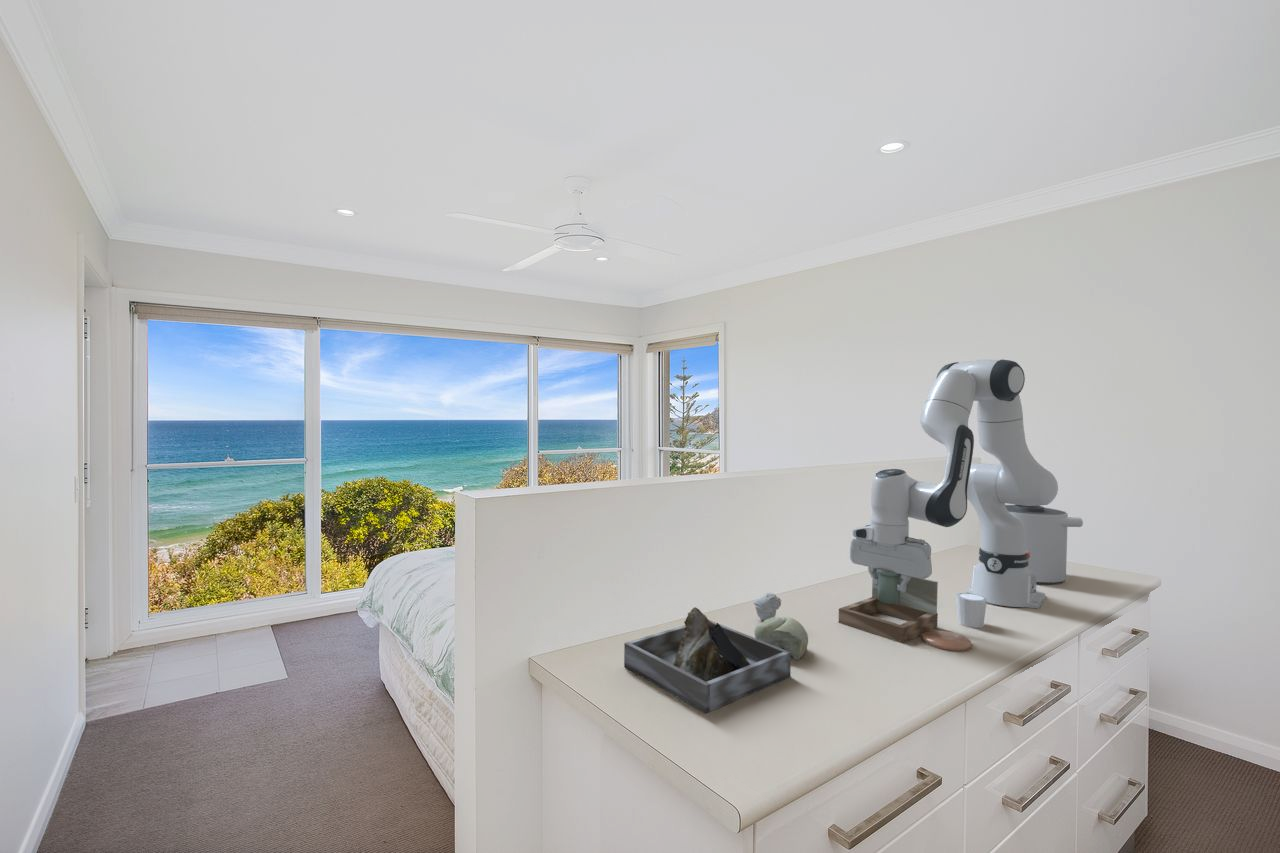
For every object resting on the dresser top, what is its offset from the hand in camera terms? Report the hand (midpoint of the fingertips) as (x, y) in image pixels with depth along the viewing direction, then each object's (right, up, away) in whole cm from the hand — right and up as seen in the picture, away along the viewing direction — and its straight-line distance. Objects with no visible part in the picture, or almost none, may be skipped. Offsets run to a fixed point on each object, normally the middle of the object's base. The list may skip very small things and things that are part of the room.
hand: (889, 588), depth 149 cm
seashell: (-31, -10, -17) cm, 36 cm away
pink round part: (+9, -10, -11) cm, 17 cm away
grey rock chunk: (-30, -9, +2) cm, 32 cm away
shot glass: (+21, -10, +1) cm, 24 cm away
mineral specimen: (-48, -9, -30) cm, 57 cm away
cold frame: (0, -9, 0) cm, 9 cm away
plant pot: (0, -3, 0) cm, 3 cm away
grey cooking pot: (+67, -9, +45) cm, 81 cm away
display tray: (-50, -9, -28) cm, 58 cm away
